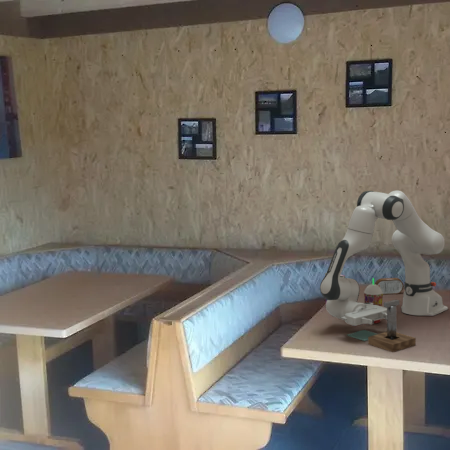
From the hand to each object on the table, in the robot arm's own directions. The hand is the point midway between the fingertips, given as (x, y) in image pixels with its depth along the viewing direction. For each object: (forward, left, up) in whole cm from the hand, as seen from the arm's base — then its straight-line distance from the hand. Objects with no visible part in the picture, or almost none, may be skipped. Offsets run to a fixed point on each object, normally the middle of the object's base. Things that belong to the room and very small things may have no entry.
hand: (381, 320), depth 269 cm
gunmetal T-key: (0, +6, -9) cm, 11 cm away
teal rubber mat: (0, -9, -9) cm, 13 cm away
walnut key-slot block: (0, +6, -9) cm, 11 cm away
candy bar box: (-23, -51, -9) cm, 57 cm away
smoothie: (-18, -21, -9) cm, 29 cm away
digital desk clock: (-61, -51, -9) cm, 80 cm away
